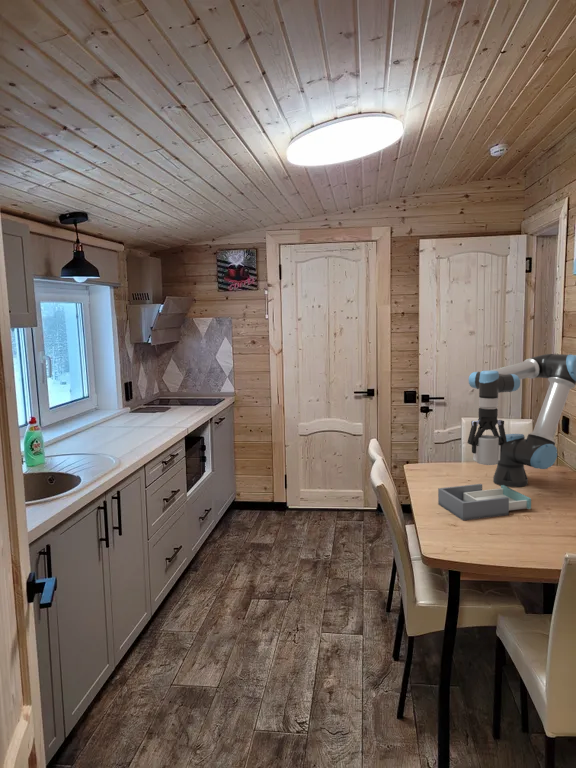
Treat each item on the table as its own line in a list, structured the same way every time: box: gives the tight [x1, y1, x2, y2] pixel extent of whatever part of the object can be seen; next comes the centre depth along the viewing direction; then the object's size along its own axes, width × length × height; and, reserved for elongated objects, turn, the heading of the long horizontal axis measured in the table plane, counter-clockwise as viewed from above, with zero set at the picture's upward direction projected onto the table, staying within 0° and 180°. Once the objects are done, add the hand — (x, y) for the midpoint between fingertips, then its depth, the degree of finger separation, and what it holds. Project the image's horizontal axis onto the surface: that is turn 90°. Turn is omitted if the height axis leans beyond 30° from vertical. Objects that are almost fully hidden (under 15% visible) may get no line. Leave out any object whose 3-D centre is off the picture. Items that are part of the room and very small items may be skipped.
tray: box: [463, 485, 532, 511], centre depth 230 cm, size 20×19×4 cm
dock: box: [437, 483, 510, 521], centre depth 228 cm, size 20×20×7 cm
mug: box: [477, 434, 499, 466], centre depth 234 cm, size 12×8×11 cm
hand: (486, 460), depth 234 cm, fingers closed on mug, 9 cm apart
